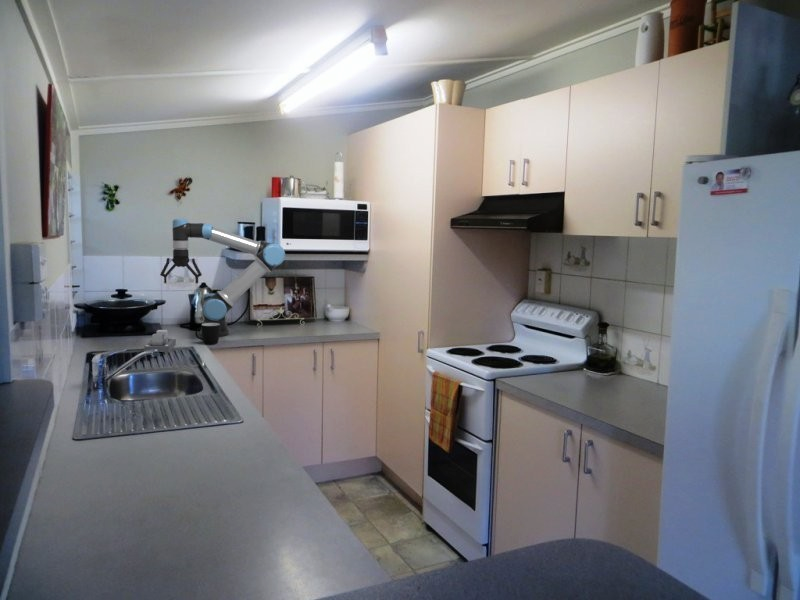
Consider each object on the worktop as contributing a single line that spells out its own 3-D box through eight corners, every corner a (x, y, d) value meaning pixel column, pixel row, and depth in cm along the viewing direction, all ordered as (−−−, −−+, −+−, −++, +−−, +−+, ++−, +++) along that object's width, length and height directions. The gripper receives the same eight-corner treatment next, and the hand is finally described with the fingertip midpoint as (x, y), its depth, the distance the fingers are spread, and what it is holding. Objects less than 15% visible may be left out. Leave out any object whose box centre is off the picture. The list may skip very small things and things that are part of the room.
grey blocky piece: (175, 344, 301) (175, 328, 300) (168, 352, 281) (168, 336, 280) (152, 344, 299) (152, 329, 298) (144, 353, 279) (143, 336, 278)
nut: (164, 349, 288) (164, 333, 287) (162, 351, 283) (162, 335, 282) (154, 349, 287) (154, 333, 286) (152, 351, 282) (151, 335, 281)
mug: (221, 342, 310) (221, 322, 309) (218, 345, 301) (218, 325, 300) (197, 341, 309) (197, 322, 307) (193, 345, 300) (193, 325, 299)
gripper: (206, 249, 313) (207, 288, 316) (156, 248, 308) (157, 288, 311) (205, 249, 306) (205, 290, 309) (153, 248, 301) (154, 290, 303)
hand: (181, 289), depth 310 cm, fingers open, 13 cm apart
